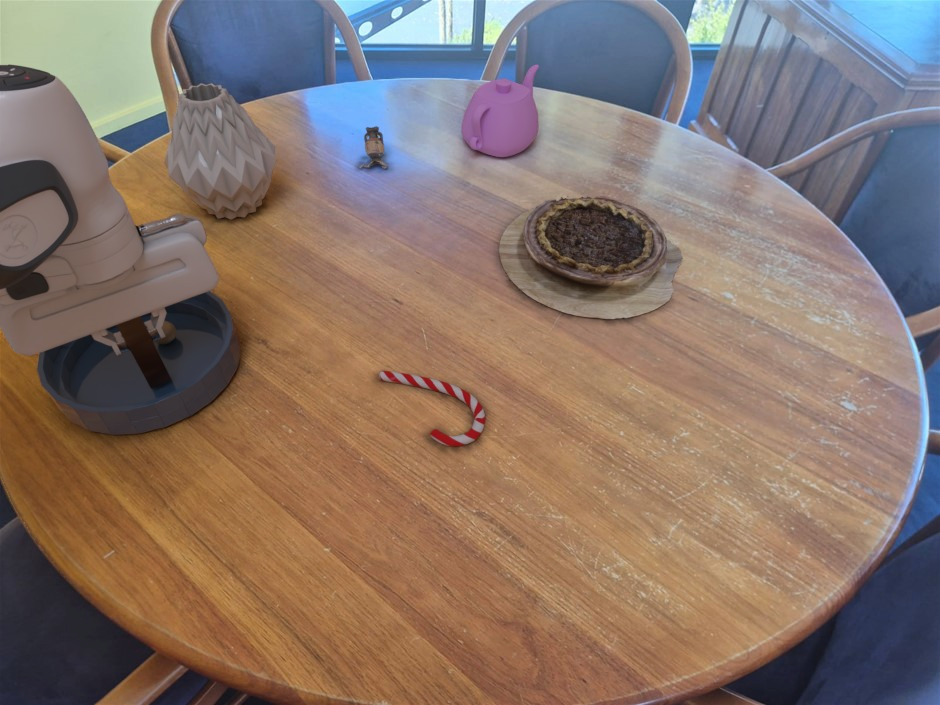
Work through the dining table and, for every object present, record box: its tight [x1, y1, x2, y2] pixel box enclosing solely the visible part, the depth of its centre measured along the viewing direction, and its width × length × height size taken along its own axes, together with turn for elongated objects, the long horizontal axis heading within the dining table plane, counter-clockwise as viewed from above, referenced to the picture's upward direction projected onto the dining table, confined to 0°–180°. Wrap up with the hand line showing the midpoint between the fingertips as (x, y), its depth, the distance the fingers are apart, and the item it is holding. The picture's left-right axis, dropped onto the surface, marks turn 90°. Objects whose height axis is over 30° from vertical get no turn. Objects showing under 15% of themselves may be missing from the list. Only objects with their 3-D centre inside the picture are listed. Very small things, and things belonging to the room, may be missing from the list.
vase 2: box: [358, 126, 390, 170], centre depth 109 cm, size 5×5×6 cm
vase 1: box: [163, 82, 277, 221], centre depth 94 cm, size 16×16×18 cm
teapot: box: [460, 64, 540, 158], centre depth 113 cm, size 20×13×12 cm, turn 144°
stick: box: [117, 316, 172, 389], centre depth 68 cm, size 2×2×14 cm
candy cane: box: [378, 370, 486, 447], centre depth 73 cm, size 8×1×15 cm
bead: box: [155, 321, 176, 344], centre depth 78 cm, size 3×3×3 cm
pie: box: [498, 195, 683, 320], centre depth 93 cm, size 28×27×5 cm
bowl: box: [36, 290, 242, 436], centre depth 75 cm, size 21×21×5 cm
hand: (139, 342), depth 69 cm, fingers closed on stick, 2 cm apart
